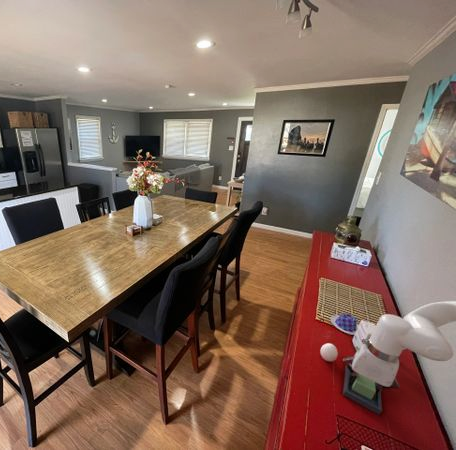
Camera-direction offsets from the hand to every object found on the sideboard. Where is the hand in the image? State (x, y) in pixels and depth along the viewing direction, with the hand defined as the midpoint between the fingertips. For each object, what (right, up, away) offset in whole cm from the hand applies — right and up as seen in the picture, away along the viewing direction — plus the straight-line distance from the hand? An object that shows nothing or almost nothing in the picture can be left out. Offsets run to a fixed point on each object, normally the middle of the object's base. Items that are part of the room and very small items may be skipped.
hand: (361, 386), depth 84 cm
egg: (-4, +3, +12) cm, 13 cm away
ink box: (+14, +4, +16) cm, 21 cm away
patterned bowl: (+16, +9, +28) cm, 34 cm away
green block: (0, 0, 0) cm, 0 cm away
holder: (+2, -1, +2) cm, 3 cm away
